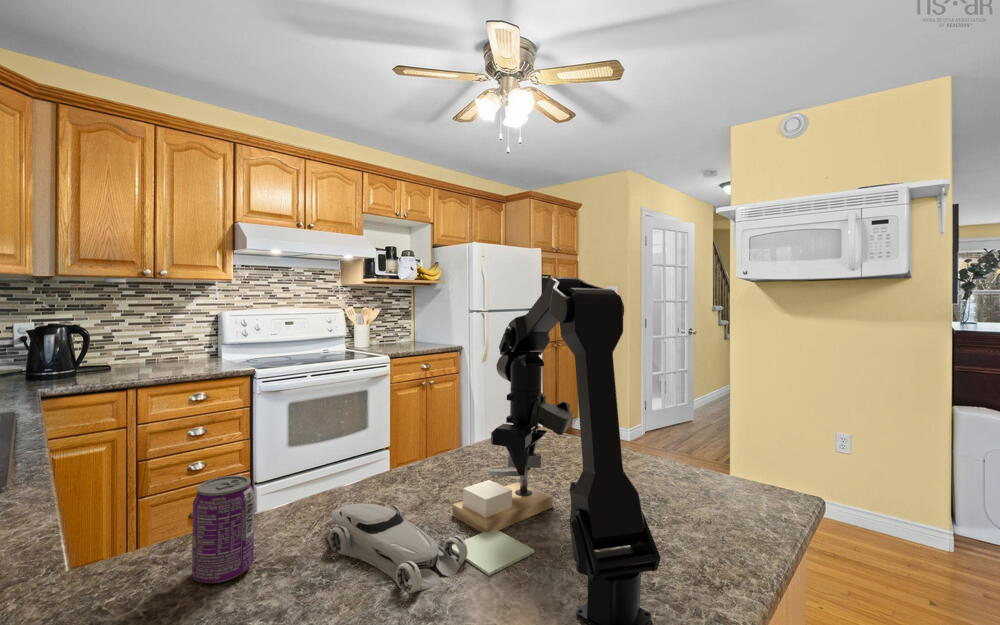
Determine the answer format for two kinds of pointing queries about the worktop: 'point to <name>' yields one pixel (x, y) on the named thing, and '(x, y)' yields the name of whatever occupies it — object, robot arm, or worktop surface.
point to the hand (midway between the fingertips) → (524, 472)
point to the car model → (394, 545)
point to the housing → (520, 510)
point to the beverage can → (222, 529)
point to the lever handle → (532, 462)
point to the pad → (494, 551)
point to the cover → (487, 498)
